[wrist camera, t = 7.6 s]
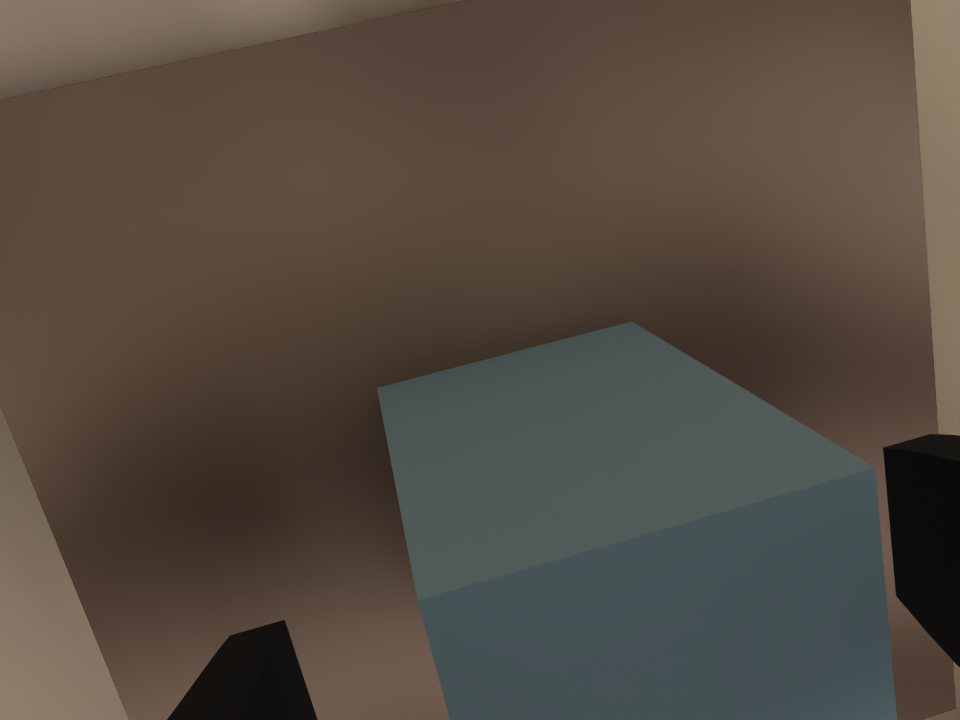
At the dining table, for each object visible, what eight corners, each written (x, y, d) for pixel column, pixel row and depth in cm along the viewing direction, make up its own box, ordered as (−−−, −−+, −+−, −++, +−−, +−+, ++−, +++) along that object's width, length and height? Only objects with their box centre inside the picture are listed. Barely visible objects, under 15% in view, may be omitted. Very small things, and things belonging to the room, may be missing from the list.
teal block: (670, 549, 14) (906, 833, 8) (437, 616, 14) (517, 966, 8) (631, 321, 13) (875, 467, 7) (377, 387, 12) (417, 599, 7)
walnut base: (874, 634, 18) (955, 708, 16) (238, 834, 17) (222, 949, 14) (808, -55, 14) (904, -94, 12) (-32, 127, 13) (-115, 124, 10)
